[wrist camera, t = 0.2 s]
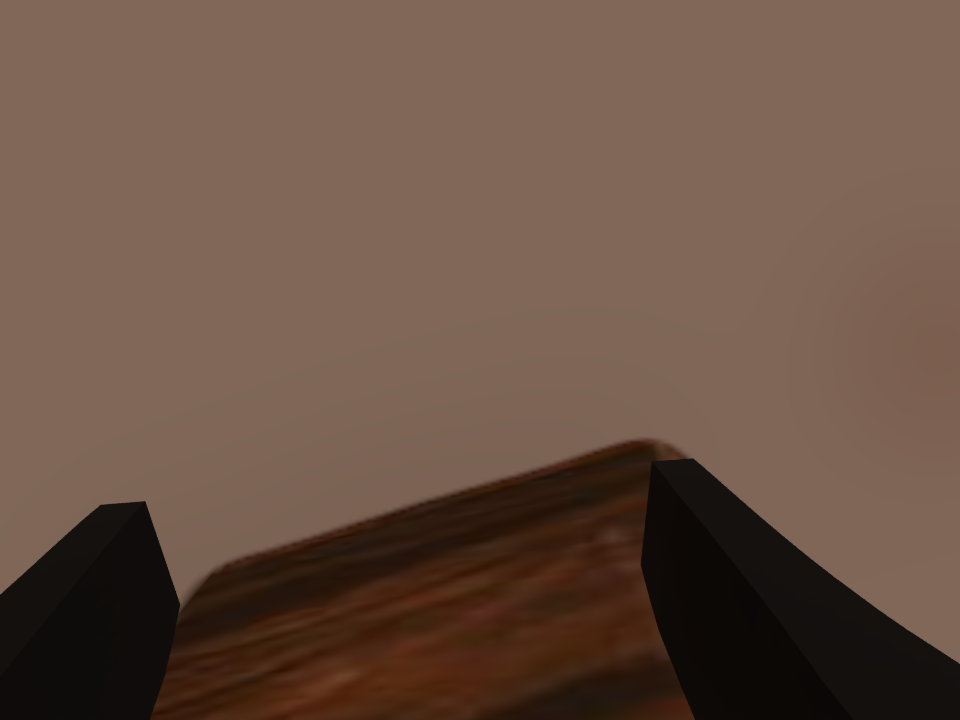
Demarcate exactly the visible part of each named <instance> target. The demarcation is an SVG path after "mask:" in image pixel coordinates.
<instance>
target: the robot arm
mask: <svg viewBox="0 0 960 720" xmlns="http://www.w3.org/2000/svg"><path fill="white" fill-rule="evenodd" d="M641 567H642V571H643V575H644V579H645V583H646V586H647V590H648V594H649V598H650V601H651V605H652V608H653V612H654V615H655V619H656V622H657V626H658V629H659V632H660V634H661V637H662V640H663V642H664V645H665V647H666V650H667V652H668V655H669V657H670V660H671V662H672V664H673V667H674V669H675V672H676V674H677V677H678V679H679V682H680V684H681V687H682V689H683V691H684V694H685V696H686V699H687V701H688V704H689V706H690V708H691V711H692V713H693V716H694V718H695V720H960V664H959V663H958V662H956V661H954V660H953V659H951V658H950V657H948V656H947V655H945V654H944V653H942V652H941V651H939V650H938V649H936V648H935V647H933V646H931V645H930V644H928V643H927V642H925V641H924V640H922V639H921V638H919V637H918V636H916V635H915V634H913V633H911V632H910V631H908V630H907V629H905V628H904V627H902V626H901V625H899V624H898V623H897V622H895V621H894V620H892V619H891V618H889V617H888V616H887V615H885V614H884V613H882V612H881V611H879V610H878V609H877V608H875V607H874V606H872V605H871V604H870V603H869V602H867V601H866V600H864V599H863V598H862V597H860V596H859V595H858V594H856V593H855V592H854V591H852V590H851V589H850V588H848V587H847V586H846V585H844V584H843V583H842V582H840V581H839V580H837V579H836V578H835V577H833V576H832V575H831V574H830V573H828V572H827V571H826V570H825V569H823V568H822V567H821V566H819V565H818V564H817V563H815V562H814V561H813V560H812V559H810V558H809V557H808V556H807V555H805V554H804V553H803V552H802V551H800V550H799V549H798V548H797V547H796V546H794V545H793V544H792V543H791V542H789V541H788V540H787V539H786V538H785V537H784V536H782V535H781V534H780V533H779V532H777V531H776V530H775V529H774V528H773V527H772V526H770V525H769V524H768V523H767V522H766V521H765V520H763V519H762V518H761V517H760V516H759V515H757V514H756V513H755V512H754V511H753V510H752V509H751V508H749V507H748V506H747V505H746V504H745V503H744V502H743V501H741V500H740V499H739V498H738V497H737V496H736V495H735V494H733V493H732V492H731V491H730V490H729V489H728V488H727V487H725V486H724V485H723V484H722V483H721V482H720V481H719V480H718V479H716V478H715V477H714V476H713V475H712V474H711V473H710V472H708V471H707V470H706V469H705V468H704V467H703V466H701V465H700V464H699V463H698V462H697V461H696V460H694V459H680V460H667V461H654V462H652V466H651V475H650V484H649V494H648V503H647V512H646V521H645V530H644V540H643V549H642V558H641ZM179 608H180V603H179V600H178V597H177V594H176V591H175V588H174V585H173V582H172V579H171V576H170V573H169V570H168V567H167V564H166V561H165V558H164V555H163V552H162V549H161V546H160V544H159V541H158V538H157V535H156V532H155V529H154V526H153V523H152V520H151V517H150V514H149V511H148V508H147V505H146V502H145V501H143V502H131V503H118V504H105V505H100V506H99V507H98V508H96V509H95V510H94V511H93V512H92V513H90V514H89V515H88V516H87V517H86V518H85V519H84V520H82V521H81V522H80V523H79V524H78V525H77V526H76V527H74V528H73V529H72V530H71V531H70V532H69V533H68V534H67V535H65V536H64V537H63V538H62V539H61V540H60V541H59V542H58V543H57V544H56V545H55V546H54V547H52V548H51V549H50V550H49V551H48V552H47V553H46V554H45V555H44V556H43V557H41V558H40V559H39V560H38V561H37V562H36V563H35V564H34V565H33V566H32V567H30V568H29V569H28V570H27V571H26V572H25V573H24V574H23V575H22V576H21V577H19V578H18V579H17V580H16V581H15V582H14V583H13V584H12V585H10V586H9V587H8V588H7V589H6V590H5V591H4V592H3V593H2V594H0V720H149V719H150V717H151V714H152V711H153V708H154V705H155V702H156V699H157V697H158V694H159V691H160V688H161V685H162V682H163V679H164V676H165V672H166V668H167V664H168V660H169V655H170V651H171V647H172V642H173V637H174V633H175V628H176V623H177V618H178V613H179Z"/></svg>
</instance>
